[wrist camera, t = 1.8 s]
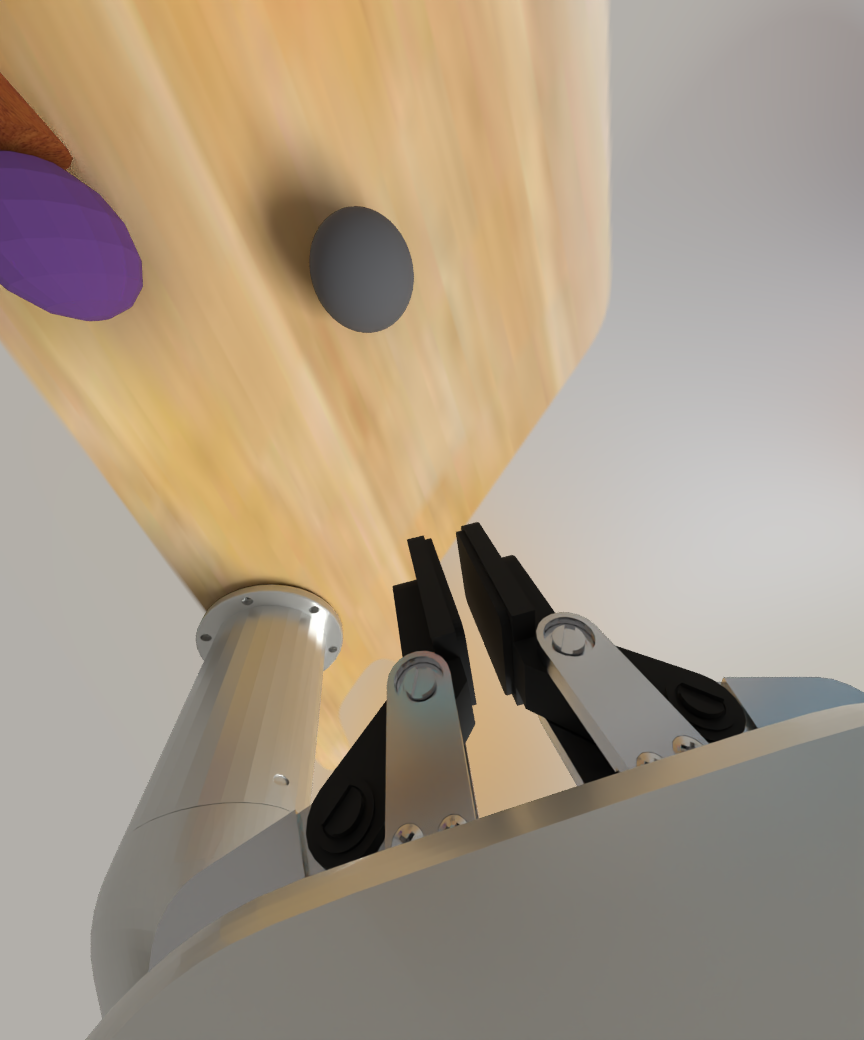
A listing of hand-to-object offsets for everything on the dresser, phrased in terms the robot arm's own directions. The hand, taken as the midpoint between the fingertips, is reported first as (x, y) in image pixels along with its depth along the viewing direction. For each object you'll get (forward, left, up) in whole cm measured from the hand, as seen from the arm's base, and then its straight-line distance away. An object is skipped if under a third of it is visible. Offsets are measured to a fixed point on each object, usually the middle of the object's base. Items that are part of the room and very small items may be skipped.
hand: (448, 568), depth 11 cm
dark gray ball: (+10, 0, -14) cm, 17 cm away
